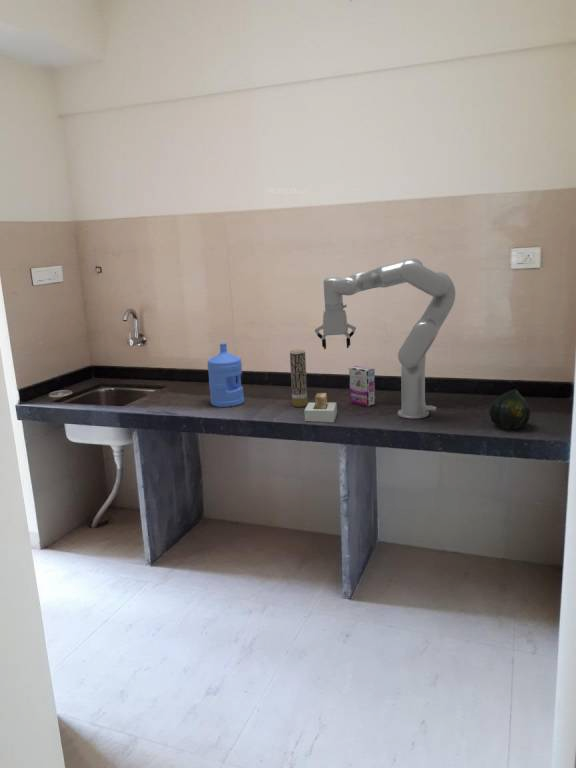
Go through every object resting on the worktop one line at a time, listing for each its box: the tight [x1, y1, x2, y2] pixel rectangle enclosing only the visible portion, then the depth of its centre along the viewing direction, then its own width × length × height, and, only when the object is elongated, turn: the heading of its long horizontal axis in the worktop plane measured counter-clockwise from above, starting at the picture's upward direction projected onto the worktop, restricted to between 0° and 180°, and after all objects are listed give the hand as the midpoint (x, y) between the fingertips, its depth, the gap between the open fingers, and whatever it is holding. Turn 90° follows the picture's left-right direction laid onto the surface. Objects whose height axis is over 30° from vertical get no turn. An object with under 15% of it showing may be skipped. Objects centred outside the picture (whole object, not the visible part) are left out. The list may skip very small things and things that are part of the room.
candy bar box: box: [348, 365, 376, 407], centre depth 283 cm, size 11×5×16 cm, turn 42°
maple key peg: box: [314, 392, 328, 409], centre depth 266 cm, size 4×6×10 cm, turn 170°
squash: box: [489, 388, 531, 431], centre depth 243 cm, size 14×15×15 cm
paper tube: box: [289, 349, 308, 408], centre depth 284 cm, size 7×7×25 cm
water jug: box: [207, 343, 245, 408], centre depth 294 cm, size 16×16×28 cm
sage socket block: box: [303, 402, 338, 423], centre depth 266 cm, size 12×12×5 cm
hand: (336, 348), depth 268 cm, fingers open, 9 cm apart
